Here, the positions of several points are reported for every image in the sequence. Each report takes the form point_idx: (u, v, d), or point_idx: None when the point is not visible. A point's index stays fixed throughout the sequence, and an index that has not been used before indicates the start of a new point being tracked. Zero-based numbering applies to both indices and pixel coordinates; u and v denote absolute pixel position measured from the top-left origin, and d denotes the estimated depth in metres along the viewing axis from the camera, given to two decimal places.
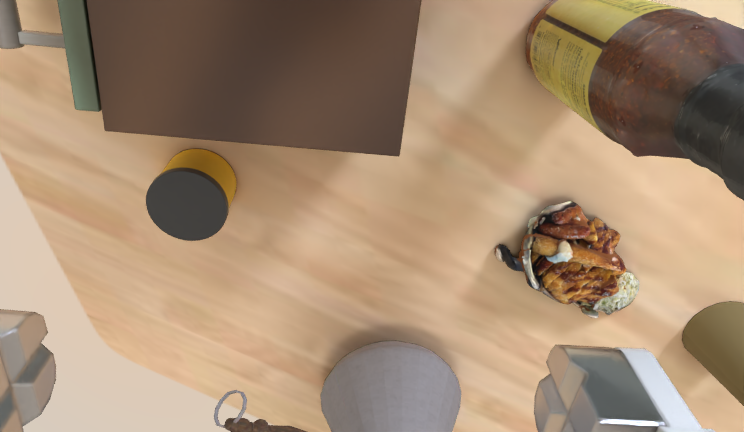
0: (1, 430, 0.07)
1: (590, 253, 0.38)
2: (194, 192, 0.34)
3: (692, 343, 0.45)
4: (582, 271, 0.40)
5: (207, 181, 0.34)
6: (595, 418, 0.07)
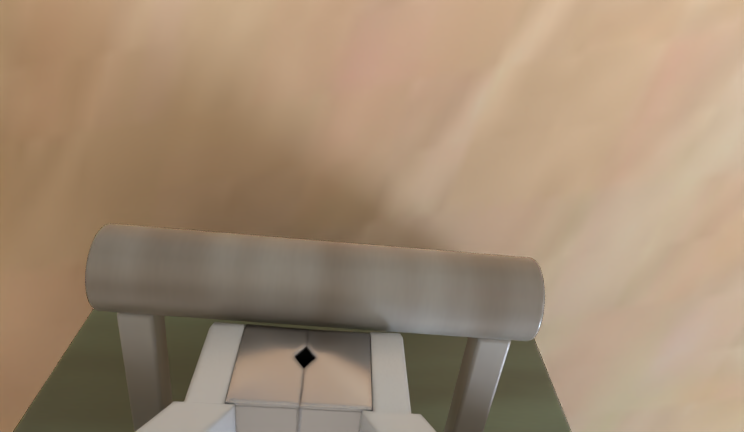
0: None
1: None
2: None
3: None
4: None
5: None
6: (300, 403, 0.07)
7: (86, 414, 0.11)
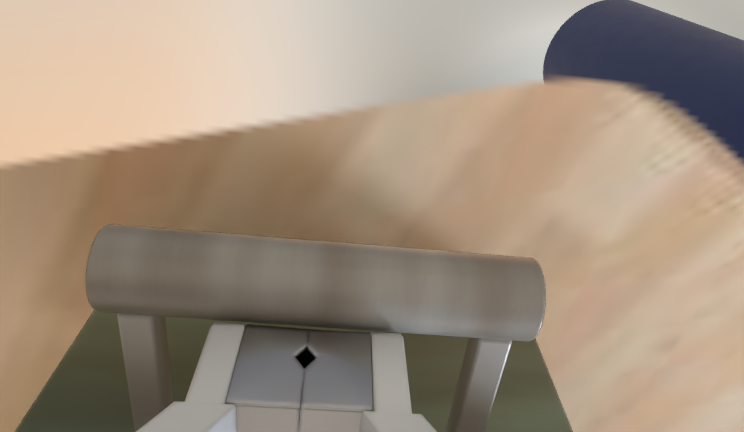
0: None
1: None
2: None
3: None
4: None
5: None
6: (300, 403, 0.07)
7: (87, 415, 0.11)
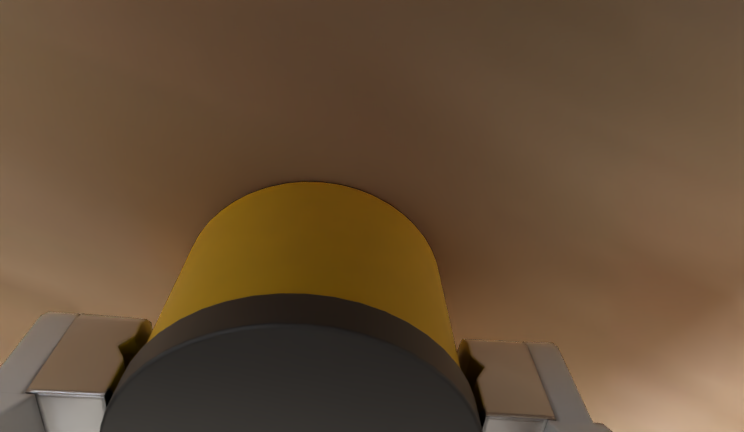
0: None
1: None
2: (343, 416, 0.07)
3: None
4: None
5: (421, 371, 0.06)
6: (485, 412, 0.07)
7: None
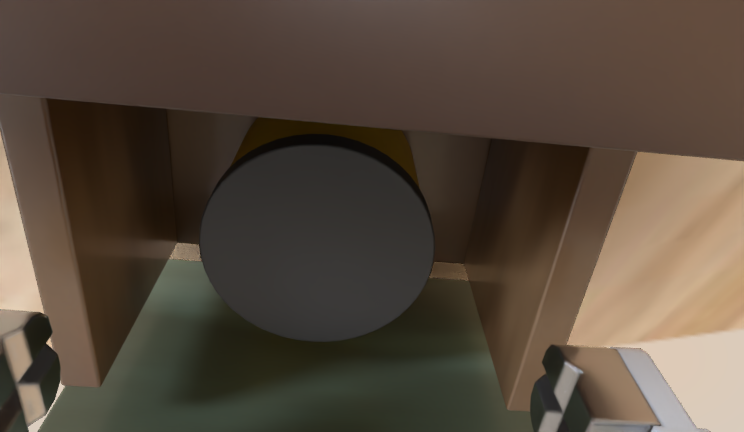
0: (7, 430, 0.08)
1: None
2: (347, 210, 0.11)
3: None
4: None
5: (393, 178, 0.11)
6: (589, 418, 0.07)
7: None
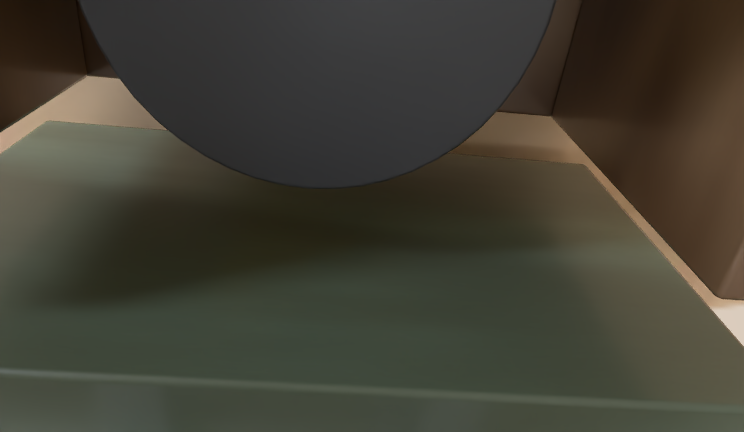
0: None
1: None
2: None
3: None
4: None
5: None
6: None
7: None
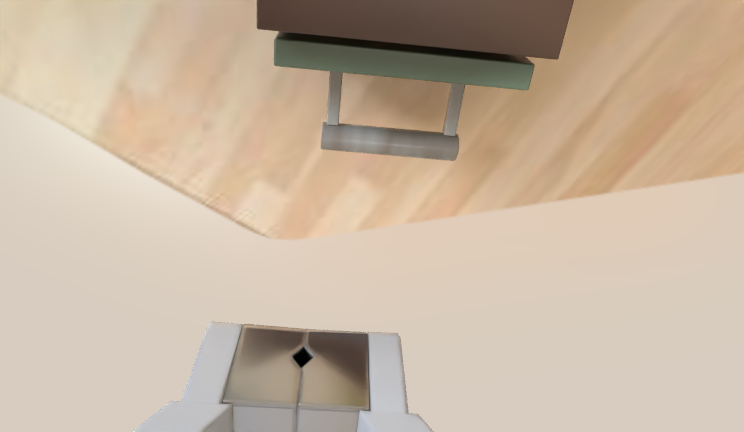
0: None
1: None
2: None
3: None
4: None
5: None
6: (297, 403, 0.07)
7: None
